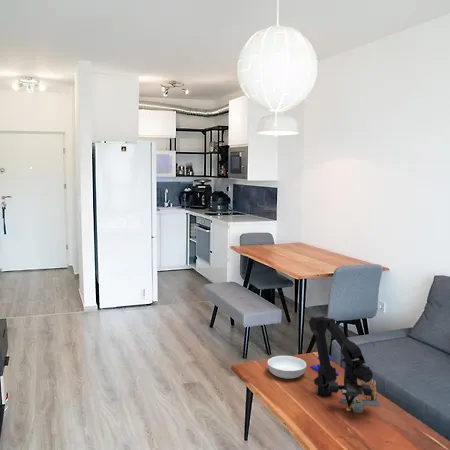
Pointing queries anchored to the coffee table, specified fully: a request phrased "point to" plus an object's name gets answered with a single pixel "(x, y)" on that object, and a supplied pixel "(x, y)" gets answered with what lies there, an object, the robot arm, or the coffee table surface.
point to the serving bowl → (286, 366)
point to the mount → (319, 365)
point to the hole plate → (365, 402)
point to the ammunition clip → (373, 387)
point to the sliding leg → (357, 405)
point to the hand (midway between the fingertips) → (348, 406)
